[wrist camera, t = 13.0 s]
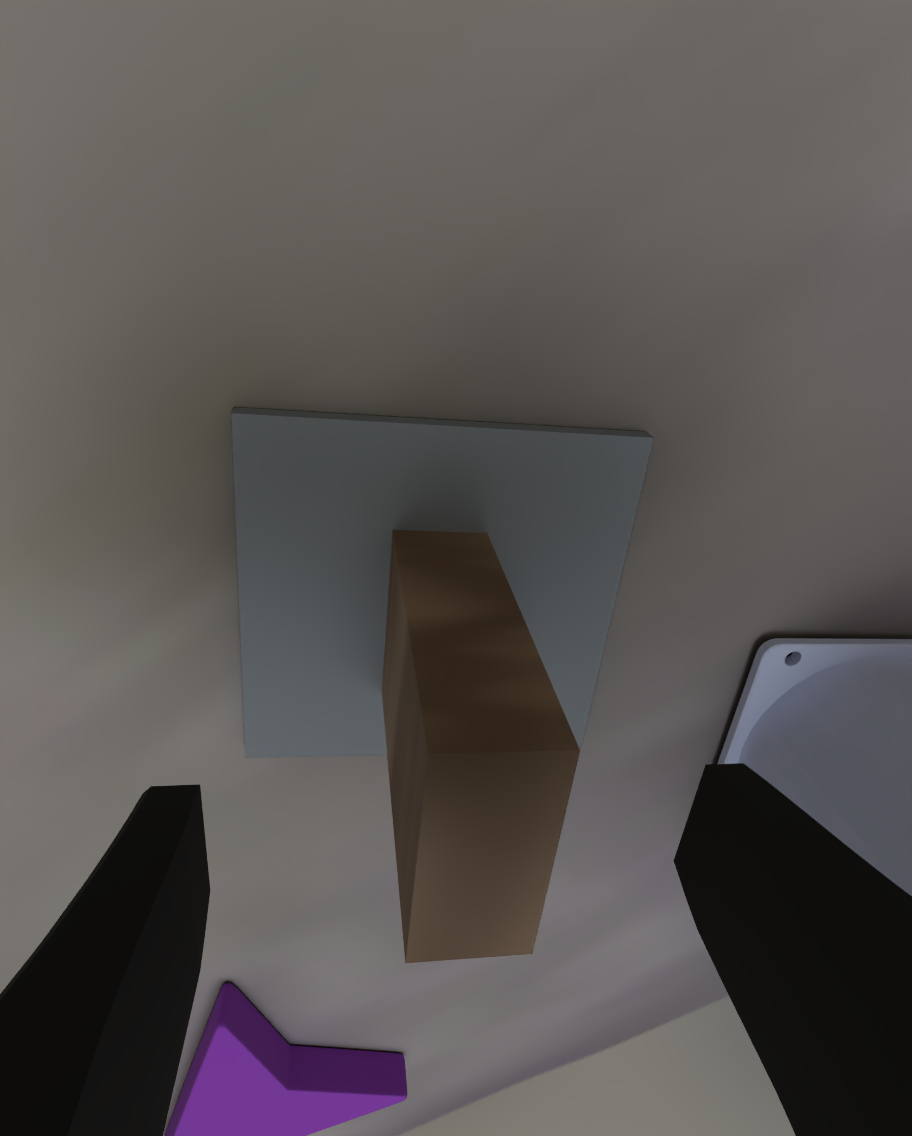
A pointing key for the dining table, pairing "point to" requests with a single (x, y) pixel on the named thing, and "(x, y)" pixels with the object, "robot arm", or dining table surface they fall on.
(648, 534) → the dining table surface
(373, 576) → the rubber mat
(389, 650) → the tall wooden plank
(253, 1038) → the arrowhead
